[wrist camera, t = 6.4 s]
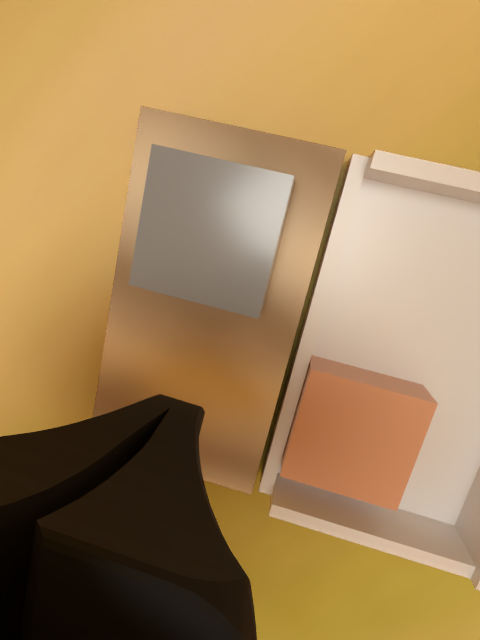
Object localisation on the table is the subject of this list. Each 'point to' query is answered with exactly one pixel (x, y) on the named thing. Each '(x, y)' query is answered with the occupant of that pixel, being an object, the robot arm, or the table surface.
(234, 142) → the board
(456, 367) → the tray
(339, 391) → the tile terracotta
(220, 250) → the tile slate
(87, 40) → the table surface
